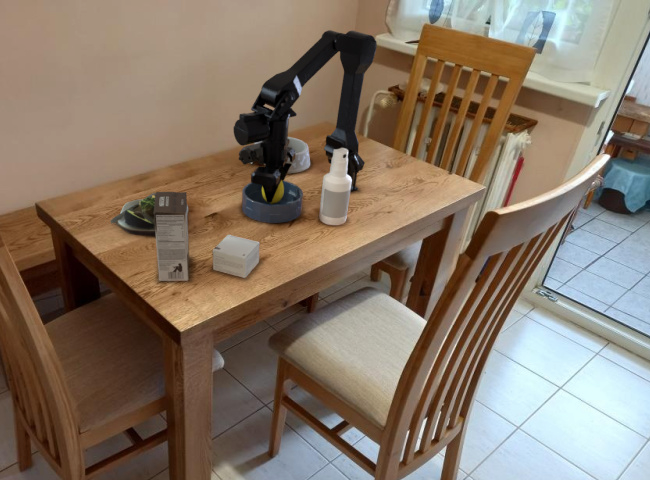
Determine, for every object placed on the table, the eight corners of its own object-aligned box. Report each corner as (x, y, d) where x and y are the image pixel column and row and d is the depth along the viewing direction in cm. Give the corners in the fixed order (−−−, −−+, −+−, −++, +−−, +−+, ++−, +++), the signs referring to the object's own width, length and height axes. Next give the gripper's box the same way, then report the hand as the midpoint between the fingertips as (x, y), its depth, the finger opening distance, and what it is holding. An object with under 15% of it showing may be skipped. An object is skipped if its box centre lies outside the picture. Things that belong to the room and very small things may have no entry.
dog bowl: (279, 146, 183) (280, 129, 180) (322, 164, 173) (323, 147, 169) (238, 159, 174) (238, 142, 171) (281, 179, 163) (282, 161, 160)
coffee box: (160, 258, 127) (155, 190, 117) (189, 258, 127) (187, 190, 118) (158, 281, 119) (152, 211, 110) (189, 281, 120) (186, 211, 110)
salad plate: (124, 198, 150) (122, 181, 147) (193, 200, 150) (192, 184, 147) (107, 235, 134) (105, 217, 132) (184, 237, 134) (183, 220, 132)
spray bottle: (328, 228, 141) (337, 157, 130) (313, 216, 145) (320, 147, 135) (351, 222, 143) (361, 153, 133) (336, 211, 148) (344, 143, 138)
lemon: (281, 210, 144) (282, 180, 139) (259, 208, 145) (260, 178, 140) (284, 201, 148) (286, 171, 144) (263, 198, 149) (264, 169, 145)
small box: (260, 261, 127) (260, 241, 124) (244, 279, 121) (245, 258, 118) (228, 253, 129) (228, 233, 126) (211, 270, 124) (211, 249, 121)
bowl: (286, 193, 156) (287, 176, 153) (311, 218, 144) (313, 200, 141) (233, 201, 151) (233, 183, 148) (255, 228, 139) (256, 209, 136)
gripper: (255, 120, 145) (253, 178, 155) (230, 145, 131) (229, 207, 140) (298, 126, 143) (293, 184, 152) (277, 152, 128) (273, 215, 137)
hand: (272, 197), depth 145 cm, fingers closed on lemon, 5 cm apart
